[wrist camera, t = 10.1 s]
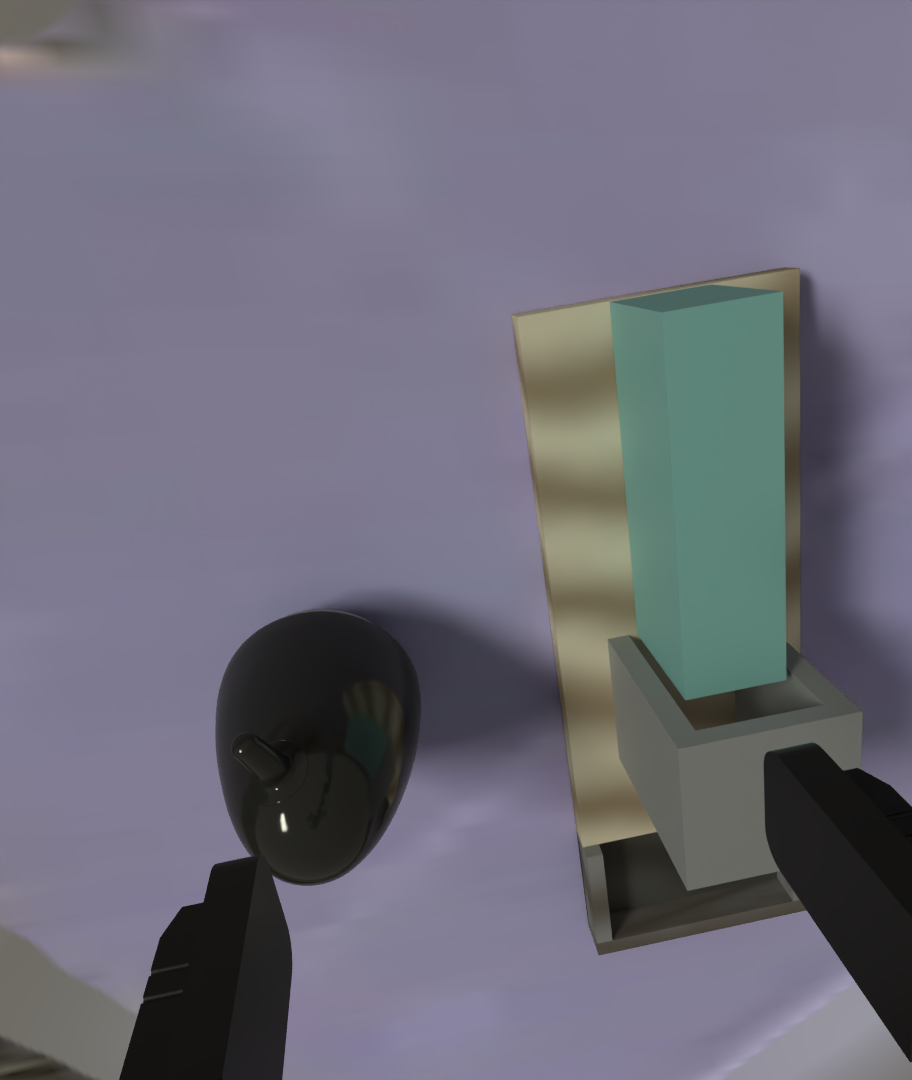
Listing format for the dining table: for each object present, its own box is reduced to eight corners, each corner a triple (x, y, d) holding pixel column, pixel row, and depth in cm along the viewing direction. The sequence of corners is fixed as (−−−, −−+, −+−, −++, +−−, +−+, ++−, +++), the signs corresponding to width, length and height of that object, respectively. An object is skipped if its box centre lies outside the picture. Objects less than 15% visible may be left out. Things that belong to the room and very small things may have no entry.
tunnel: (607, 639, 44) (678, 749, 35) (752, 610, 45) (863, 711, 35) (619, 758, 47) (687, 890, 37) (755, 730, 48) (858, 854, 38)
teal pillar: (609, 301, 38) (661, 312, 32) (710, 284, 38) (783, 291, 32) (637, 634, 44) (685, 700, 38) (723, 617, 45) (786, 680, 38)
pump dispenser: (360, 547, 42) (360, 696, 28) (445, 695, 46) (484, 893, 32) (191, 631, 43) (110, 819, 29) (290, 771, 47) (260, 998, 33)
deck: (511, 314, 39) (520, 318, 37) (784, 267, 40) (809, 268, 38) (588, 925, 53) (598, 955, 51) (789, 882, 54) (807, 909, 52)
